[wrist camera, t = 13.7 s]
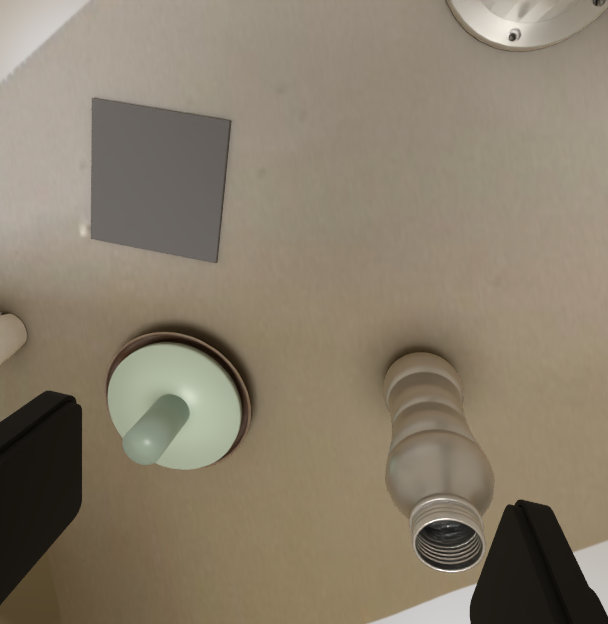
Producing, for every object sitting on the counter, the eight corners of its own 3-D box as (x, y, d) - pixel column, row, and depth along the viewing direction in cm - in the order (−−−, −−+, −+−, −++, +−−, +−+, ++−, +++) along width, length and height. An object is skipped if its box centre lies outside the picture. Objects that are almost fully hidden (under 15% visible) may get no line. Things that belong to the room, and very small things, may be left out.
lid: (114, 329, 44) (67, 359, 38) (249, 357, 43) (225, 394, 36) (112, 447, 49) (69, 492, 42) (234, 476, 47) (210, 527, 41)
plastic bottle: (387, 340, 43) (390, 483, 24) (465, 349, 42) (530, 506, 23) (378, 403, 45) (375, 581, 26) (452, 413, 44) (503, 605, 25)
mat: (94, 98, 40) (92, 98, 40) (231, 120, 39) (229, 120, 39) (93, 238, 44) (91, 238, 44) (217, 262, 43) (215, 263, 43)
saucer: (234, 474, 50) (226, 491, 48) (106, 423, 51) (91, 437, 49) (276, 355, 45) (270, 367, 43) (133, 300, 46) (119, 309, 43)
